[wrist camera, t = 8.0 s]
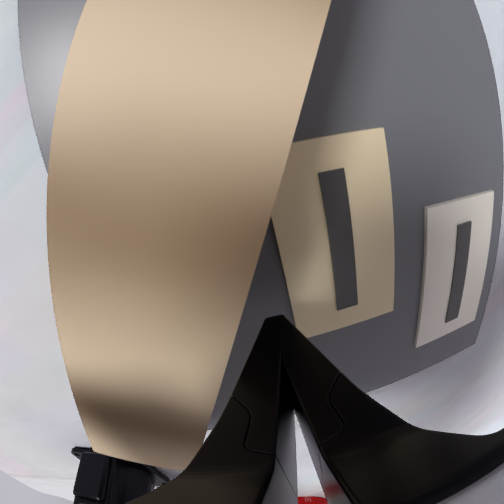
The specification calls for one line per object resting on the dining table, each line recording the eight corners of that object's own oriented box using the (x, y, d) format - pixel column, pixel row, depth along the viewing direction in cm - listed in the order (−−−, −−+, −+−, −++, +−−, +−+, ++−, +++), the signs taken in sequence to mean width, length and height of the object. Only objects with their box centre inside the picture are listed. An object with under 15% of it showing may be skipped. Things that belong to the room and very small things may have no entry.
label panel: (466, 333, 14) (477, 346, 13) (192, 417, 14) (192, 436, 13) (419, -77, 4) (433, -86, 3) (30, -20, 5) (14, -28, 3)
